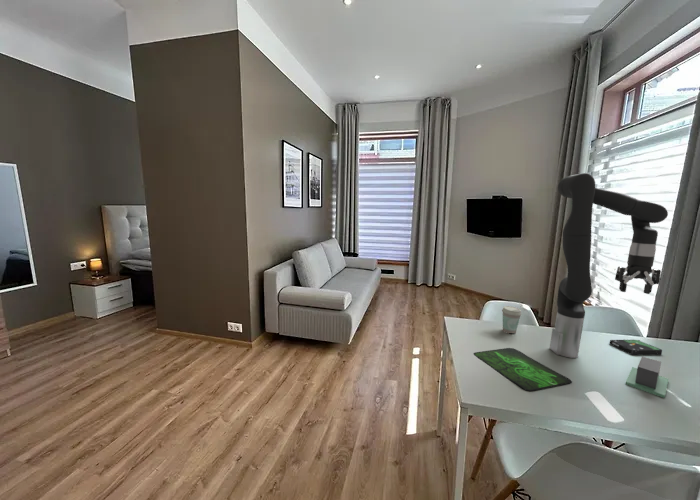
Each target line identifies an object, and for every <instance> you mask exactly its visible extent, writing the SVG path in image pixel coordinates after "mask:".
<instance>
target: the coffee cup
mask: <svg viewBox="0 0 700 500" xmlns="http://www.w3.org/2000/svg"><path fill="white" fill-rule="evenodd" d="M501 311H502V312H501V313H502V331H503V332H504V333H506V332H507V333H506V334H509V333H515V334H516V333H517V330H518V327H519V326H518V325H519V322H520V319H521V317H522V315H523V314H522V310H521V309H520V308H518V307H516V306H511V305H510V306H509V305H505V306H503V308H502V309H501Z"/></svg>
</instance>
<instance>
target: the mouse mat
mask: <svg viewBox="0 0 700 500" xmlns="http://www.w3.org/2000/svg"><path fill="white" fill-rule="evenodd" d="M473 355H474V356H475V357H476V358H477V359H479V360H480V361H482V362H483V363H484V364H485V365H487V366H489V367H490V368H491V369H493V370H494V371H496V372H497V373H498V374H500V375H501V376H503V377H505V378H506V379H507V380H509V381H511V382H512V383H514V384H515V385H517V386H518V387H520V388H521V390H525V391H527V392H535V391H540V390H544V389H549V388H553V387H559V386H564V385H570V384H572V382H573V381H572V380H571V378H569V377H567V376H565V375H563V374H561V373H559V372H557V371H555V370H553V369H552V368H550V367H548V366H546V365H545V364H543V363H541V362H540V361H537V360H535V359H534V358H533V357H530V356H528V355H527V354H525V353H523V352H522V351H520V350H518V349H516V348H513V347H512V348H511V347H506V348H505V347H504V348H498V349H497V348H496V349H490V350H484V351H476V352H473Z"/></svg>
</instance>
